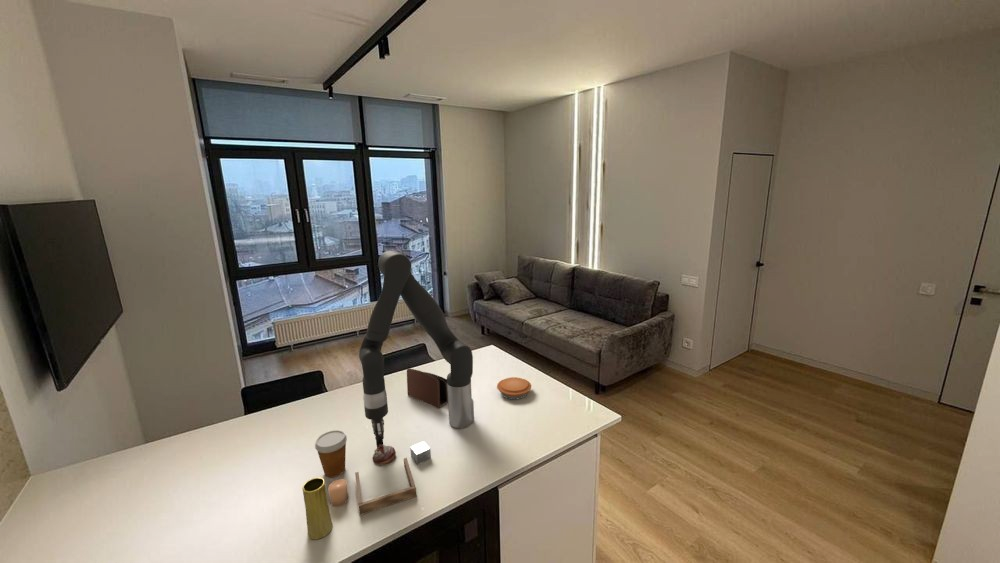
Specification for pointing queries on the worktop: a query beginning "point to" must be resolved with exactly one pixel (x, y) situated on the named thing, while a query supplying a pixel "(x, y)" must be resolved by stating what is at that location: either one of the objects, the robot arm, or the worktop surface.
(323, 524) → the vase
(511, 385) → the pie
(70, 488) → the worktop surface
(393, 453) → the pastry
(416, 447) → the gray block
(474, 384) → the worktop surface
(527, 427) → the worktop surface
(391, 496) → the display bay
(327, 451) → the disposable coffee cup
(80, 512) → the worktop surface
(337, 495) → the peach rounded blob
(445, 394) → the letter holder
